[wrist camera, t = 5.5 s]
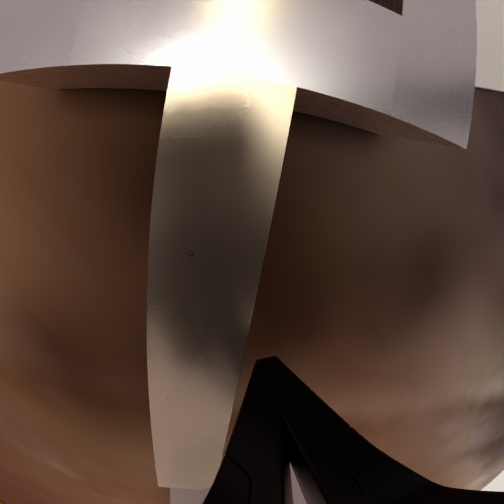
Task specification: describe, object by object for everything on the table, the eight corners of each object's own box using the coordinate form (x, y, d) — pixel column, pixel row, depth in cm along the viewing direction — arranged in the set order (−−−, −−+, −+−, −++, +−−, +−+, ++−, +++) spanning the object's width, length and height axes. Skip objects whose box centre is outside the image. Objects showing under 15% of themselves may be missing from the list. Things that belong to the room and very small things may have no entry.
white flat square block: (518, -33, 6) (522, -33, 5) (553, 104, 9) (558, 105, 9) (406, -90, 5) (411, -93, 5) (463, 85, 9) (470, 85, 8)
